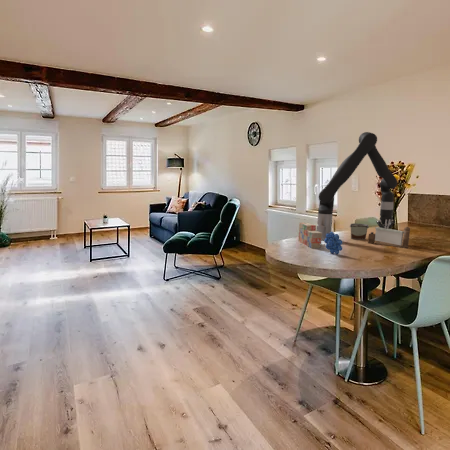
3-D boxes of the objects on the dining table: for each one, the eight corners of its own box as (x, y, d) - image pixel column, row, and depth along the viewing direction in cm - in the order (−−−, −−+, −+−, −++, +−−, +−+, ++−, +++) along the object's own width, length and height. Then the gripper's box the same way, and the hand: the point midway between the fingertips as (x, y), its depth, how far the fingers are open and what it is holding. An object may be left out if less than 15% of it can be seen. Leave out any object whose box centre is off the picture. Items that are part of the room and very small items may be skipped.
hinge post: (407, 248, 207) (409, 227, 205) (401, 247, 209) (403, 226, 207) (408, 247, 209) (411, 226, 207) (403, 246, 211) (405, 226, 209)
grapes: (318, 252, 191) (320, 231, 189) (326, 250, 195) (327, 230, 193) (336, 256, 182) (338, 234, 180) (344, 255, 186) (346, 233, 184)
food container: (365, 237, 239) (366, 223, 237) (367, 239, 233) (369, 225, 231) (346, 237, 240) (347, 223, 238) (348, 238, 234) (350, 224, 232)
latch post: (372, 243, 219) (373, 232, 218) (367, 243, 221) (368, 232, 220) (374, 243, 221) (375, 232, 220) (370, 242, 223) (371, 231, 222)
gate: (402, 245, 211) (404, 231, 210) (400, 245, 210) (402, 231, 209) (376, 240, 226) (377, 227, 225) (374, 240, 225) (375, 227, 224)
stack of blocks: (320, 248, 202) (322, 227, 200) (310, 248, 201) (312, 227, 199) (307, 241, 223) (308, 222, 221) (298, 241, 222) (299, 222, 220)
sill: (400, 247, 209) (400, 246, 209) (374, 243, 220) (374, 242, 220) (402, 246, 212) (402, 245, 212) (377, 242, 223) (377, 241, 223)
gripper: (381, 209, 217) (379, 236, 219) (399, 209, 220) (397, 235, 222) (374, 208, 224) (372, 234, 227) (391, 207, 227) (389, 233, 230)
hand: (384, 235), depth 225 cm, fingers closed
